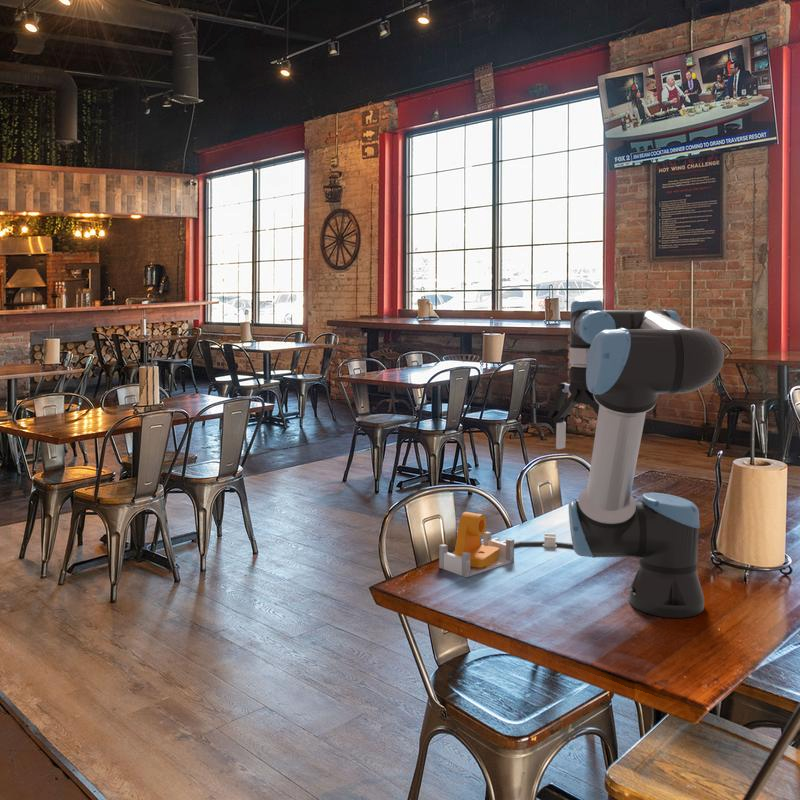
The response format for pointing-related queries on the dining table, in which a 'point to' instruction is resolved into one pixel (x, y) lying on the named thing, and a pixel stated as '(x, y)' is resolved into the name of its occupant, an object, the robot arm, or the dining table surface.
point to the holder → (463, 563)
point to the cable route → (542, 542)
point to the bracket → (474, 540)
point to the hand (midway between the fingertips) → (583, 452)
